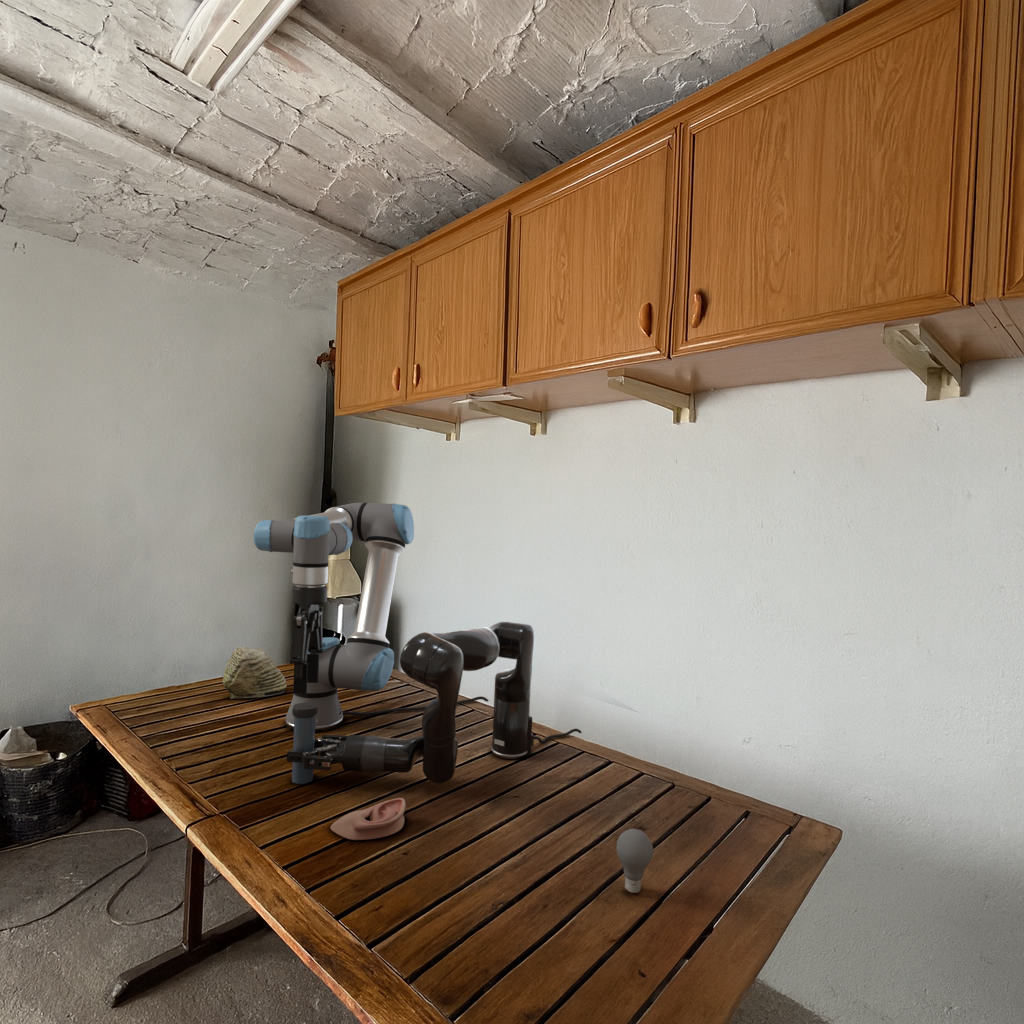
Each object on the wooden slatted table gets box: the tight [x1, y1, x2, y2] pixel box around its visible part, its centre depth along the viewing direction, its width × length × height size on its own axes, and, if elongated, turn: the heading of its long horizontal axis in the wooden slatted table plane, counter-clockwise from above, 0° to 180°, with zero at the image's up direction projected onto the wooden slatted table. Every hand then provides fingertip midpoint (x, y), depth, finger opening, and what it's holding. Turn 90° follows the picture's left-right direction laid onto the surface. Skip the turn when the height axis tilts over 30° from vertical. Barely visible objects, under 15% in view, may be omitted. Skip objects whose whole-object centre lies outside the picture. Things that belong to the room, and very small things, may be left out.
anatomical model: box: [330, 797, 407, 841], centre depth 123 cm, size 13×4×12 cm
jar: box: [291, 715, 316, 785], centre depth 141 cm, size 5×5×16 cm
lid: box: [292, 702, 318, 718], centre depth 141 cm, size 5×5×2 cm
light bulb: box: [615, 828, 654, 894], centre depth 106 cm, size 6×6×10 cm
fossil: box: [222, 646, 288, 699], centre depth 198 cm, size 9×18×15 cm, turn 132°
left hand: (306, 687), depth 141 cm, fingers open, 7 cm apart
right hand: (293, 749), depth 141 cm, fingers open, 6 cm apart
